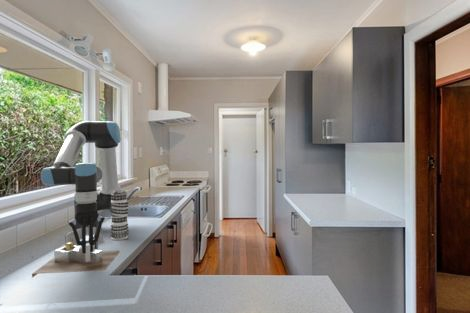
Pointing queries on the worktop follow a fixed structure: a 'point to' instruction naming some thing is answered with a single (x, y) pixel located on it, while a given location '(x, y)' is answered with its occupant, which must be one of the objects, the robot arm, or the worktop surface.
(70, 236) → the grey curved arch block
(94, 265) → the board
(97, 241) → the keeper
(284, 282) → the worktop surface
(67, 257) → the link
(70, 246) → the brass rounded cylinder
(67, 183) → the robot arm
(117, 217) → the decorative candle
